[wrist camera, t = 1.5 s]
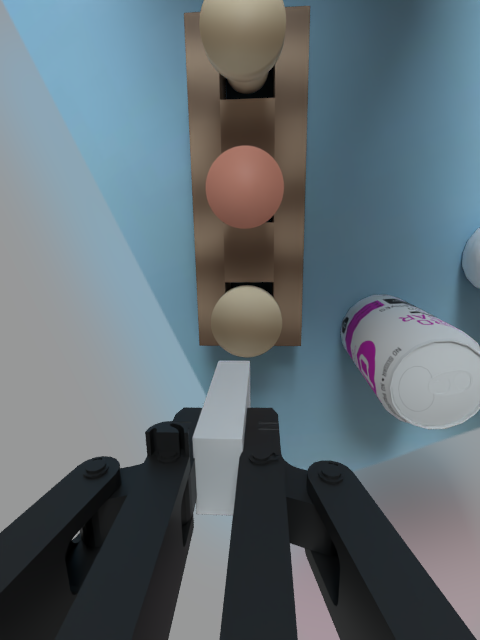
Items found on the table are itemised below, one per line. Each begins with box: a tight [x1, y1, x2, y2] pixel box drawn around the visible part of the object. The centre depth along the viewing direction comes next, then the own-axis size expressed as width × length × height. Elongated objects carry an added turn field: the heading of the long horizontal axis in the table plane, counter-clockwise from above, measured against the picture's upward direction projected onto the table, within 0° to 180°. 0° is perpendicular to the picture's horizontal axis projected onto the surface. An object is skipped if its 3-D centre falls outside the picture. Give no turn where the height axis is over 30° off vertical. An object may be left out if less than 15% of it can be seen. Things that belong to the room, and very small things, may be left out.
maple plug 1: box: [199, 0, 286, 94], centre depth 26 cm, size 6×6×7 cm
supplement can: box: [340, 294, 480, 429], centre depth 33 cm, size 8×8×15 cm
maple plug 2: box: [211, 285, 282, 357], centre depth 31 cm, size 6×6×7 cm
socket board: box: [184, 6, 310, 346], centre depth 35 cm, size 28×10×6 cm, turn 1°
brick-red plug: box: [206, 145, 284, 229], centre depth 29 cm, size 6×6×7 cm
